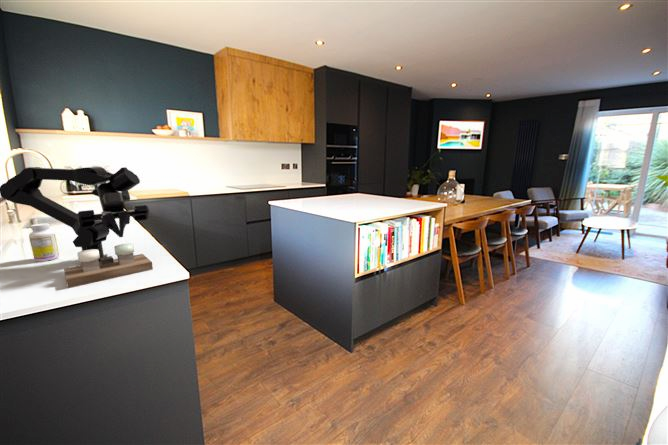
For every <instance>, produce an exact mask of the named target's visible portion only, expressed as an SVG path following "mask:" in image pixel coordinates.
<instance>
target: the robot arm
mask: <svg viewBox="0 0 668 445" xmlns="http://www.w3.org/2000/svg"><path fill="white" fill-rule="evenodd" d="M43 180H45V181H46V180H49V181H70V182H71V181H72V182H75V183H78V184H82V185H86V186H87V185H88V186H93V185H98V186H96V187H95V189H93V190H92V191H91V195H94V196H96V197H98V198H99V202H100V206H101V208H102V209H101V210H102V211H101V213H96V214H95V211H94V209H89V210H80V211H78V212H75V211H73V210H71V209H69V208H67V207H65V205H64V206H63V205H61V204H60V203H58V202H56V201H55V200H52V199H50V198H48V197H46V196H44V195H43V193H42V191H41V190H40V189H39V188H40V187H41V186H42V182H43ZM140 183H141V180H140V178H139V177H138V175H137V174H136V173H134V172H133V171H131V170H129V169H128V168H127V166H126V167H121V168H120V169H118V170H117V171H115V172H114V173H111V172H110V171H109V172H108V171H107V170H106V169H105V167H102V166H93V167H89V166H88V167H80V168H72V169H71V168H53V167H50V168H49V167H48V168H47V167H39V166H33V167H32V166H31V167H30V166H28V167H25V168H24V169H22V170H21V171H20V172H19V173H18V174H16V175H14V176H13V177H11V178H10V179H8V180H7V181H6V182H5V183H2V184H1V185H0V197H1V198H2V199H4V200H6V201H9V202H11V203H14V204H18V205H24V206H29V207H31V208H34V209H35V210H37V211H39V212H41V213H43V214H45V215H47V216H49V217H51V218H53V219H54V220H56V221H59V223H62V224H64V225H66V226H68V227H70V228H71V229H72V230H73V232H74V233H75V235H76V237H75V238H74V239H73V241H72V244H74V246H75V247H76V248H81V251H84V250H91V249H98V250H99V255H100V258H104V257H105V254H104V248H103V243H102V242H104V241H106V240H107V237H108V235H109V234H110V230H111V231H112V232H113V233H114V234H116V235H117V237H119V238H123V237H124V233H125V228H126V226H127V225H129V224H130V222H131V217H133V219H134V220H135V221H136V222H141V221H142V222H143V221H146V220H148V219H149V215H150V214H149V213H150V209H149V207H148V206H147V205H146V204H140V205H133V209H127V210H126V204H125V202H130V200H131V196H130V193H129V191H130V190H132V189H133V188H134V187H136V186H137V185H139V184H140ZM116 219H118V223H117V221H116ZM100 258H99V259H98V260H99V262H101V261H100Z"/></svg>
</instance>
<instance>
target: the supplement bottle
mask: <svg viewBox="0 0 668 445" xmlns="http://www.w3.org/2000/svg"><path fill="white" fill-rule="evenodd" d="M30 228H31V230H32V232H30V233H29V235H28V237H29V242H30V247H31V250H32V255H33V259H34V261H35V262H50V261H53V260H56V259H58V258H59V257H60V251H59V246H58V243H57V237H56V233H55V231H54V230H52V229H50V223H48V222H47V223H46V222H45V223H44V222H43V223H36V224H35V223H34V224H31V225H30Z"/></svg>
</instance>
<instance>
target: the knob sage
mask: <svg viewBox="0 0 668 445" xmlns="http://www.w3.org/2000/svg"><path fill="white" fill-rule="evenodd" d="M113 248H114V253H115V256H117V255H127V254H131V253H133V254H134V252H135V248H134V244H133V243H122V244H117V245H115V246H114V247H113Z"/></svg>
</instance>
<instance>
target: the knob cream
mask: <svg viewBox="0 0 668 445" xmlns="http://www.w3.org/2000/svg"><path fill="white" fill-rule="evenodd" d="M76 254H77V259H78V262H80V263H81V262H89V261H94V260H97V259H99V258H100V255H99V250H98V249H91V250H84V251H82V250H81V251H78V252H77V253H76Z"/></svg>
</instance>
